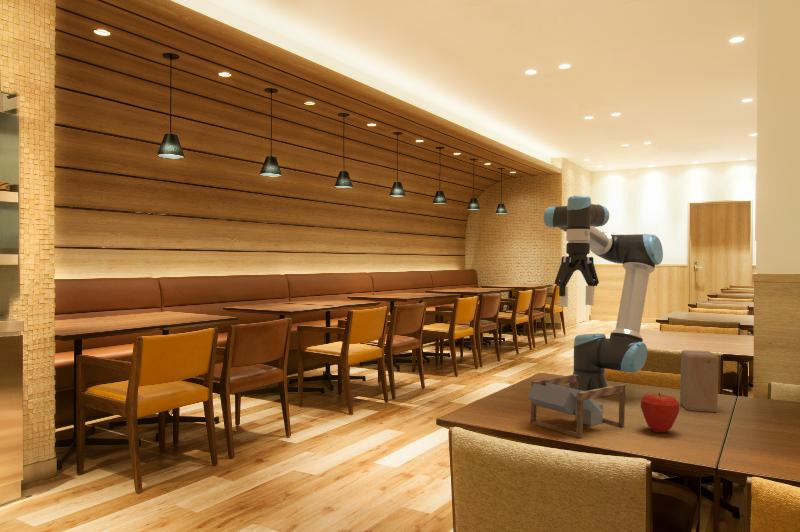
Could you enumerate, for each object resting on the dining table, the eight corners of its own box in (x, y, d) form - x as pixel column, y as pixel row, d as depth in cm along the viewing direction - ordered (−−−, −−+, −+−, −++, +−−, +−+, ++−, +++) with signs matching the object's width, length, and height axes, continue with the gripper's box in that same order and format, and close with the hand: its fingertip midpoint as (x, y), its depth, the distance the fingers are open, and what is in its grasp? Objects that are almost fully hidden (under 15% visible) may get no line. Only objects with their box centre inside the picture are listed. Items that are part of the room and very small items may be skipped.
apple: (659, 438, 171) (660, 397, 171) (631, 428, 181) (632, 389, 181) (687, 434, 175) (688, 394, 175) (658, 425, 185) (659, 387, 185)
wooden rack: (579, 438, 170) (580, 393, 170) (530, 422, 185) (531, 381, 185) (624, 426, 183) (625, 384, 183) (574, 413, 198) (575, 374, 198)
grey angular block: (565, 407, 168) (578, 381, 171) (525, 396, 181) (537, 372, 184) (593, 435, 176) (604, 410, 179) (552, 423, 189) (563, 400, 192)
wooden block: (718, 413, 201) (719, 355, 201) (687, 411, 203) (688, 354, 203) (708, 406, 211) (710, 351, 211) (679, 404, 213) (680, 349, 213)
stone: (591, 406, 183) (604, 403, 187) (575, 402, 188) (588, 399, 192) (590, 425, 183) (603, 422, 187) (575, 421, 188) (588, 418, 192)
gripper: (563, 241, 185) (561, 307, 185) (610, 243, 199) (608, 305, 199) (544, 241, 191) (543, 306, 191) (591, 243, 205) (590, 303, 205)
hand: (576, 305), depth 195 cm, fingers open, 13 cm apart
